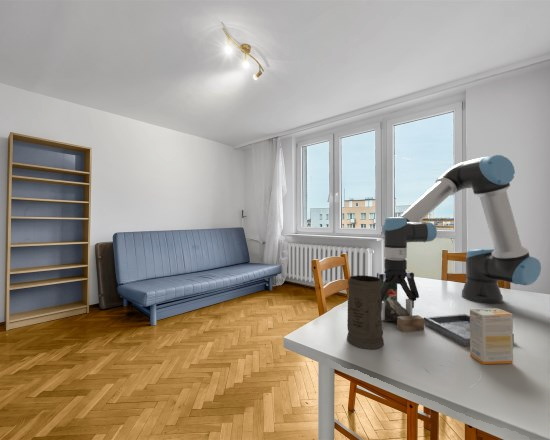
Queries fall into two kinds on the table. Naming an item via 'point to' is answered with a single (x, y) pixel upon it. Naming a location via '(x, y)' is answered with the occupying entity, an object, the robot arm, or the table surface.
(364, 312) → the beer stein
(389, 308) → the fossil
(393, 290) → the canned tomato
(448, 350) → the table surface
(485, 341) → the supplement box
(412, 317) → the cradle
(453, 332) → the dish
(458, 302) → the table surface
